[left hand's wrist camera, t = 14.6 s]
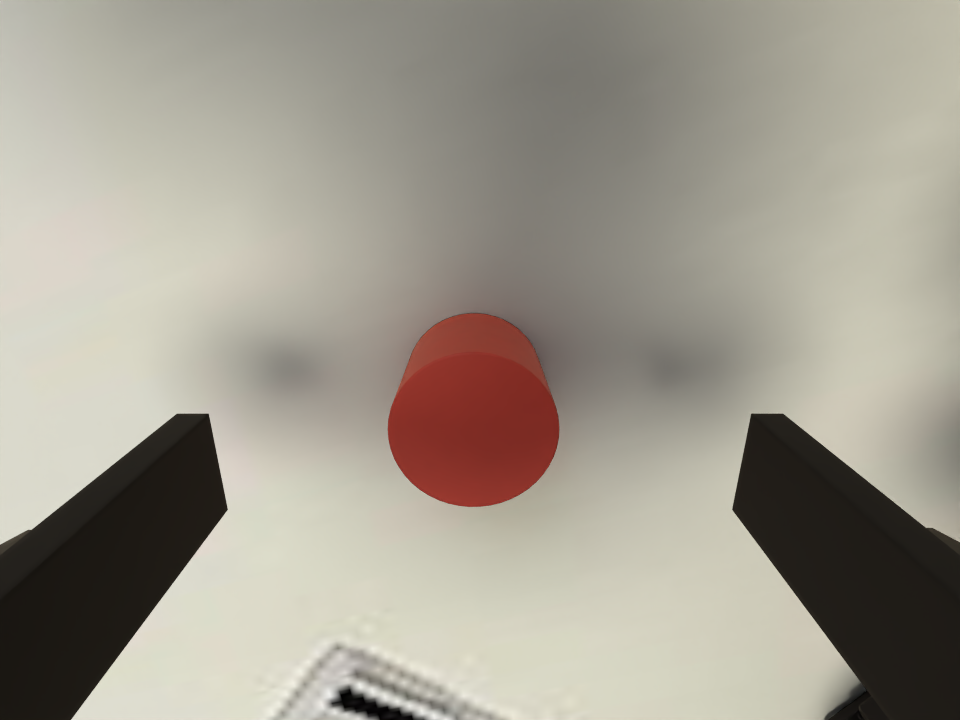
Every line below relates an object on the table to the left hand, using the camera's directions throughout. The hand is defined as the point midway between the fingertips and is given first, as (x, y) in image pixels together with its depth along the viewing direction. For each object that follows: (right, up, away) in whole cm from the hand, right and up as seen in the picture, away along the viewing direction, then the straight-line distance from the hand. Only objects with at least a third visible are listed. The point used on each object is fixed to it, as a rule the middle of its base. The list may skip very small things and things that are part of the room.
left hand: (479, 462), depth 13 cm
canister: (0, +2, +6) cm, 7 cm away
